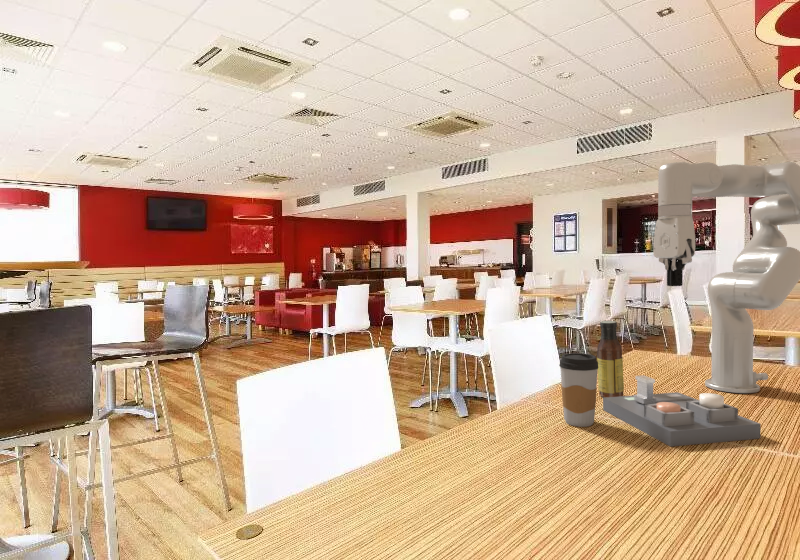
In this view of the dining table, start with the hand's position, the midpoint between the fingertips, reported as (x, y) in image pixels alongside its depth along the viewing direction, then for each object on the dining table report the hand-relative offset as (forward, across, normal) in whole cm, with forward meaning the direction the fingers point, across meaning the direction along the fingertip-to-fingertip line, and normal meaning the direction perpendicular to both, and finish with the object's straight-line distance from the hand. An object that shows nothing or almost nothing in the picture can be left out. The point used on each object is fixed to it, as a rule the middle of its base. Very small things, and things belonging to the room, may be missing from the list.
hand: (674, 285), depth 129 cm
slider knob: (+26, +10, -15) cm, 31 cm away
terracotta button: (+25, +22, -18) cm, 38 cm away
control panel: (+29, +16, -12) cm, 35 cm away
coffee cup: (+29, +11, -32) cm, 45 cm away
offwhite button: (+24, +22, -8) cm, 34 cm away
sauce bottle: (+29, -6, -14) cm, 33 cm away
